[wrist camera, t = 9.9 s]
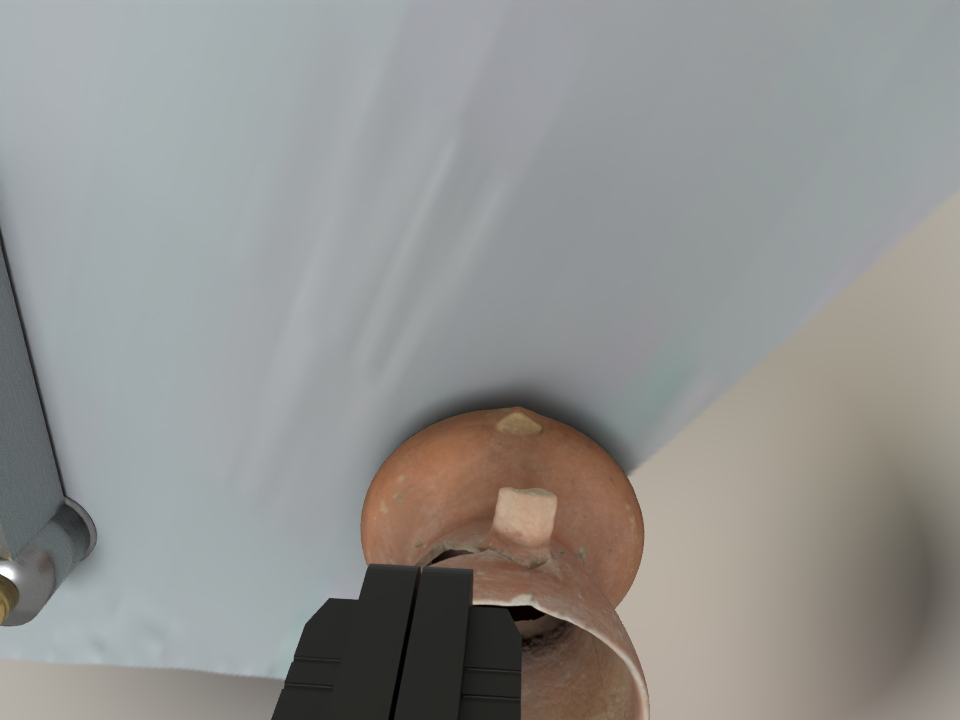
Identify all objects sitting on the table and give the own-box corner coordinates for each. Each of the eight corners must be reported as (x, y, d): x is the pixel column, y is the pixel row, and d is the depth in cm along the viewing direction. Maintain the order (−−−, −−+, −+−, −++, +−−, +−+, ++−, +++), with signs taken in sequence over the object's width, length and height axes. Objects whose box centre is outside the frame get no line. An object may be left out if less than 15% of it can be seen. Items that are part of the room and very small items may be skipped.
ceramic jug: (390, 341, 39) (319, 516, 26) (673, 390, 39) (742, 589, 26) (357, 607, 47) (290, 842, 34) (593, 647, 47) (614, 896, 34)
